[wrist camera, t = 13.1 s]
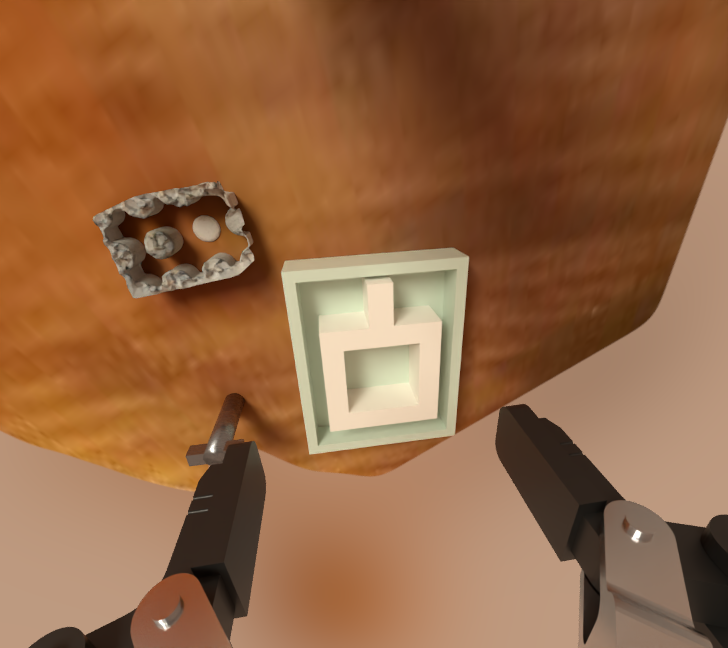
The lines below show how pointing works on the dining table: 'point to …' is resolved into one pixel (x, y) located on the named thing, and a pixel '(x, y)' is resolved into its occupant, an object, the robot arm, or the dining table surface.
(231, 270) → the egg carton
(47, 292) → the dining table surface
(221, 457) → the T-head stake
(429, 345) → the cream rectangular frame
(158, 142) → the dining table surface
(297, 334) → the tray
